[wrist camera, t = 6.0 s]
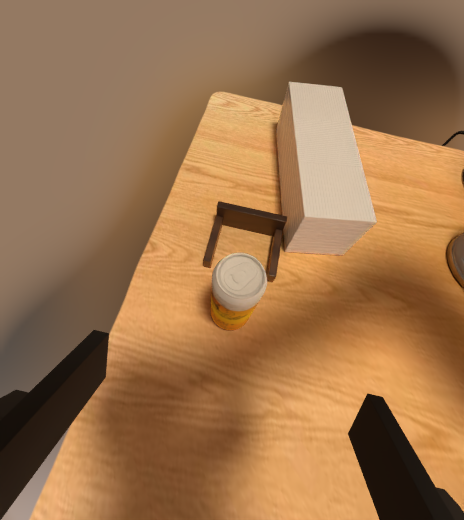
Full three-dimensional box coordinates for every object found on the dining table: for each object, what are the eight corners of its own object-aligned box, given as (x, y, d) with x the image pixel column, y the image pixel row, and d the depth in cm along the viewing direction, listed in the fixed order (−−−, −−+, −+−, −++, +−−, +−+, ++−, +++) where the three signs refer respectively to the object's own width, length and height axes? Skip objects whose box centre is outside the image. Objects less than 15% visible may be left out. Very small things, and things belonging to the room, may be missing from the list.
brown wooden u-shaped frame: (272, 282, 44) (280, 270, 39) (203, 266, 44) (203, 253, 40) (280, 232, 48) (287, 216, 44) (217, 218, 49) (218, 201, 44)
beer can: (203, 306, 41) (201, 267, 28) (234, 286, 43) (246, 240, 30) (225, 339, 39) (234, 314, 26) (256, 316, 41) (280, 282, 28)
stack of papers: (342, 255, 47) (377, 222, 38) (284, 252, 47) (304, 216, 37) (320, 134, 61) (341, 87, 52) (276, 130, 61) (289, 81, 51)
